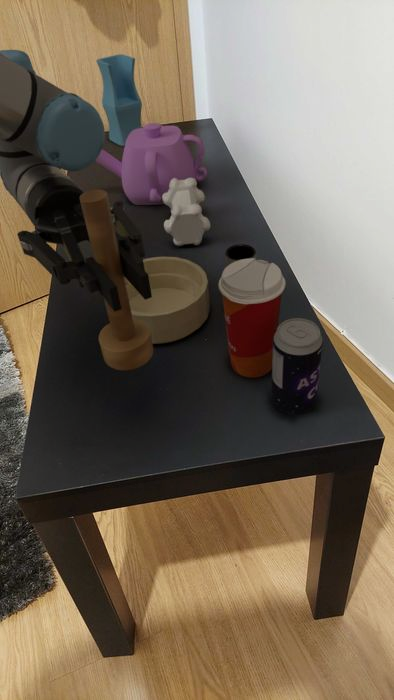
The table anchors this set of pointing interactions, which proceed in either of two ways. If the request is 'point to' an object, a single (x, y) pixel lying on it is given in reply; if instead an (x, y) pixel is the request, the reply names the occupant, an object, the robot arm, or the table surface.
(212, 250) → the table surface
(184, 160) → the teapot
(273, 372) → the beverage can
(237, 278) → the coffee cup
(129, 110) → the vase
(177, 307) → the bowl
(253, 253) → the dark grey hollow cylinder
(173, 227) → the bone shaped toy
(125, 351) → the brown tall rod post
